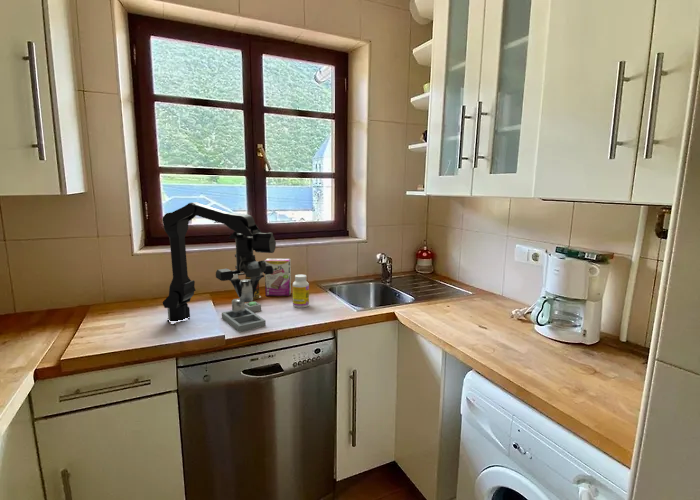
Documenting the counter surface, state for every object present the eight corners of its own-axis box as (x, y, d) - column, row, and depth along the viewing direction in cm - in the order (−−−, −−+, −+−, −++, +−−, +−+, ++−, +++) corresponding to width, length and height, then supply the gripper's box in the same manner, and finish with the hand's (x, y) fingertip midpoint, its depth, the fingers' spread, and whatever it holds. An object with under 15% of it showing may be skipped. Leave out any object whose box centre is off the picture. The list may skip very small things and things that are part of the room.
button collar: (249, 314, 147) (248, 307, 146) (244, 311, 151) (243, 303, 150) (261, 311, 150) (261, 304, 149) (256, 308, 154) (255, 301, 153)
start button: (250, 311, 148) (250, 304, 148) (247, 309, 150) (247, 302, 150) (257, 310, 150) (257, 303, 149) (254, 308, 152) (254, 301, 151)
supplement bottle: (307, 308, 154) (307, 277, 152) (291, 308, 154) (291, 277, 152) (309, 303, 161) (309, 273, 159) (294, 303, 161) (293, 273, 159)
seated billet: (235, 321, 137) (234, 302, 136) (230, 318, 141) (229, 299, 140) (247, 319, 140) (246, 300, 139) (242, 315, 144) (241, 297, 142)
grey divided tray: (239, 333, 128) (239, 326, 128) (221, 319, 141) (221, 312, 141) (265, 327, 134) (265, 320, 133) (246, 314, 147) (246, 307, 147)
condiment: (259, 301, 163) (258, 274, 161) (239, 302, 162) (238, 274, 160) (261, 296, 170) (260, 270, 168) (241, 297, 169) (240, 270, 167)
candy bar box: (265, 296, 170) (264, 260, 168) (266, 293, 175) (265, 258, 173) (290, 296, 171) (289, 260, 168) (291, 293, 176) (290, 258, 173)
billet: (237, 299, 133) (236, 280, 132) (249, 297, 136) (249, 278, 135) (242, 303, 130) (242, 283, 128) (255, 300, 132) (254, 281, 131)
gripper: (226, 258, 118) (228, 306, 121) (280, 252, 129) (281, 296, 132) (214, 253, 126) (216, 298, 129) (265, 248, 138) (267, 289, 140)
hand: (246, 295), depth 132 cm, fingers closed on billet, 4 cm apart
